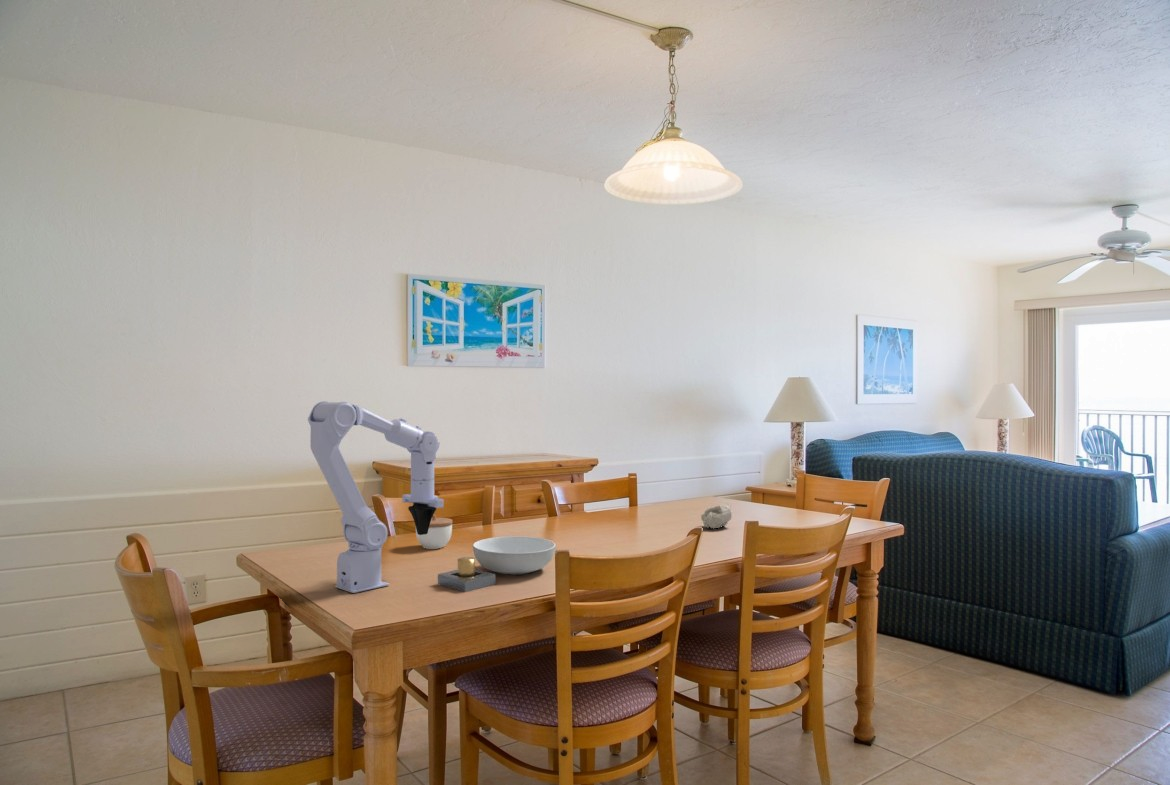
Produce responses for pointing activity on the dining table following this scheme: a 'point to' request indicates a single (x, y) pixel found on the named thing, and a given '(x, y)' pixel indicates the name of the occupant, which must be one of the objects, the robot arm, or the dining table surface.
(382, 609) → the dining table surface
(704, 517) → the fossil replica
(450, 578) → the frame
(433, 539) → the lidded jar
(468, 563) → the brass cylinder
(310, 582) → the dining table surface
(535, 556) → the serving bowl
